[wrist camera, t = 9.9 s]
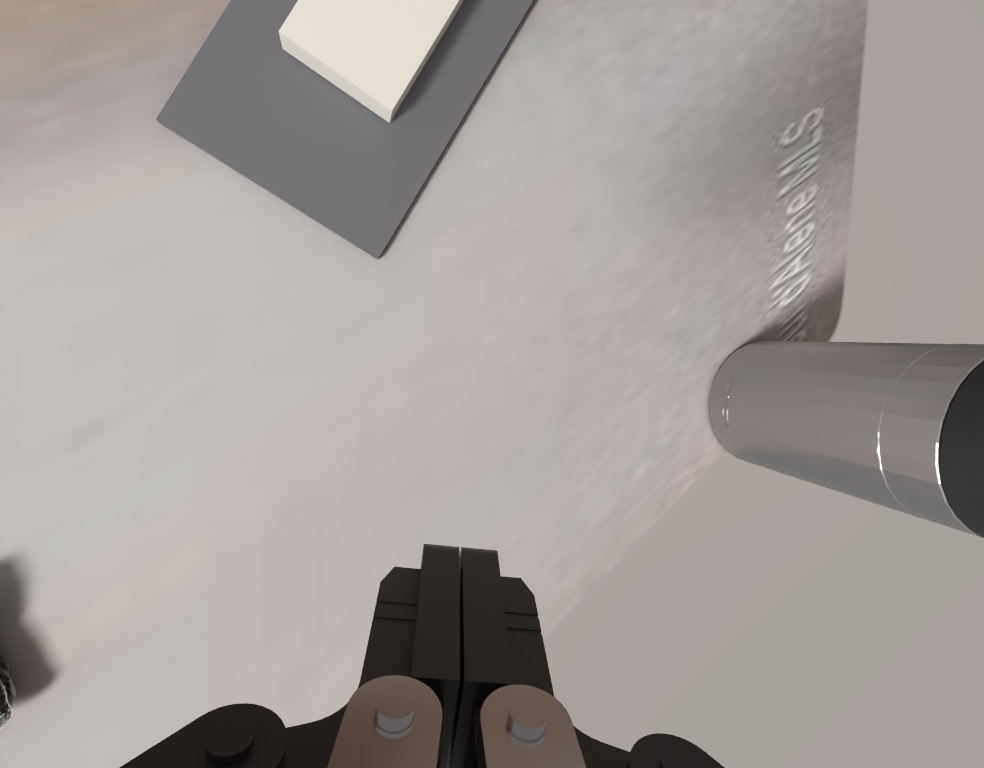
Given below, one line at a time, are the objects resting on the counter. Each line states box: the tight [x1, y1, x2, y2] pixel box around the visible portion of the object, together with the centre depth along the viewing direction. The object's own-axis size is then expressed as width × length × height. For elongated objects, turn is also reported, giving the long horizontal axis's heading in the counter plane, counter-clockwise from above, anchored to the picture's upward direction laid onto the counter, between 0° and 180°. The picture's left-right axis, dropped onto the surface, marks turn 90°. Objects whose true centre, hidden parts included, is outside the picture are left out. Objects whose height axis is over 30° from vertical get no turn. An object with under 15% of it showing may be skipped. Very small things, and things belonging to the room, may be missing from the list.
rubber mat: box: [156, 0, 533, 259], centre depth 35 cm, size 20×14×1 cm
